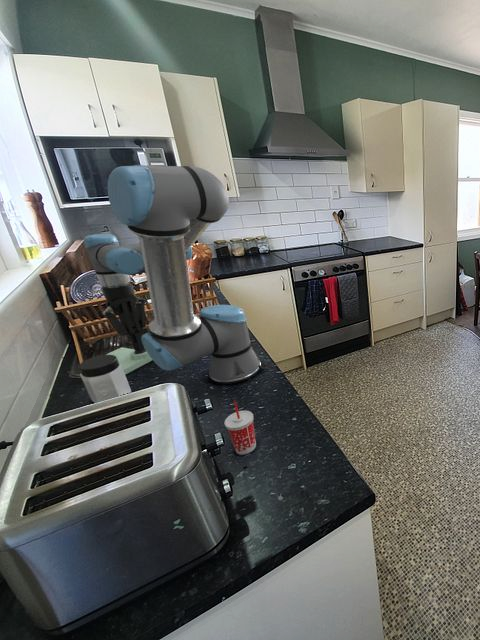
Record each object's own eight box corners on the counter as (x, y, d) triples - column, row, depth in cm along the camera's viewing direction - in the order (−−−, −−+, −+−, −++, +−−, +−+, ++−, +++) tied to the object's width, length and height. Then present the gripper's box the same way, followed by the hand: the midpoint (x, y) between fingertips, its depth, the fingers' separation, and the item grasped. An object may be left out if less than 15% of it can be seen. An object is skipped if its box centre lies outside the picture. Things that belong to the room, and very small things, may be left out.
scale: (158, 357, 122) (155, 348, 121) (122, 376, 111) (119, 366, 110) (124, 351, 125) (121, 342, 124) (86, 369, 114) (82, 360, 113)
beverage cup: (250, 435, 90) (240, 390, 84) (264, 445, 87) (254, 399, 81) (227, 449, 85) (214, 403, 79) (241, 460, 82) (229, 414, 76)
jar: (89, 409, 97) (72, 373, 92) (94, 394, 103) (79, 359, 98) (130, 399, 101) (116, 364, 96) (132, 385, 107) (120, 351, 102)
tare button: (149, 353, 121) (147, 348, 120) (140, 357, 118) (139, 353, 117) (142, 352, 121) (140, 347, 120) (133, 356, 118) (132, 351, 118)
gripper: (127, 277, 115) (148, 339, 125) (84, 289, 104) (111, 357, 114) (145, 279, 114) (165, 342, 124) (104, 292, 102) (129, 360, 112)
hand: (139, 349), depth 119 cm, fingers closed
